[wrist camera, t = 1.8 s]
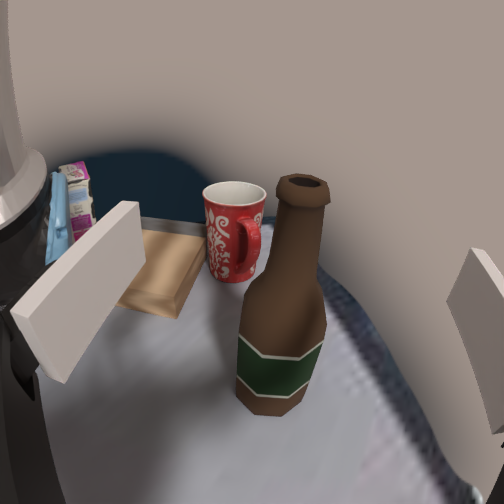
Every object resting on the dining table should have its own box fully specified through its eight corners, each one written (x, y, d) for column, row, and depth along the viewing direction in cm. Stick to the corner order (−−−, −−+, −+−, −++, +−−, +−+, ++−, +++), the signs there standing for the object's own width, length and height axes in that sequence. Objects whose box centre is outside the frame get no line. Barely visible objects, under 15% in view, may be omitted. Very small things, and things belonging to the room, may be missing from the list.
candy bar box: (108, 271, 49) (90, 177, 40) (80, 279, 46) (58, 185, 37) (97, 240, 56) (84, 159, 48) (73, 247, 54) (57, 165, 45)
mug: (198, 258, 54) (196, 183, 46) (249, 250, 57) (254, 178, 49) (217, 307, 44) (217, 221, 37) (277, 296, 47) (288, 214, 40)
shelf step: (96, 301, 43) (87, 268, 40) (140, 244, 56) (136, 215, 53) (176, 319, 42) (172, 284, 38) (207, 254, 55) (207, 223, 52)
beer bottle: (253, 354, 38) (273, 155, 24) (312, 378, 35) (370, 179, 22) (221, 401, 32) (220, 184, 18) (287, 431, 29) (352, 219, 16)
